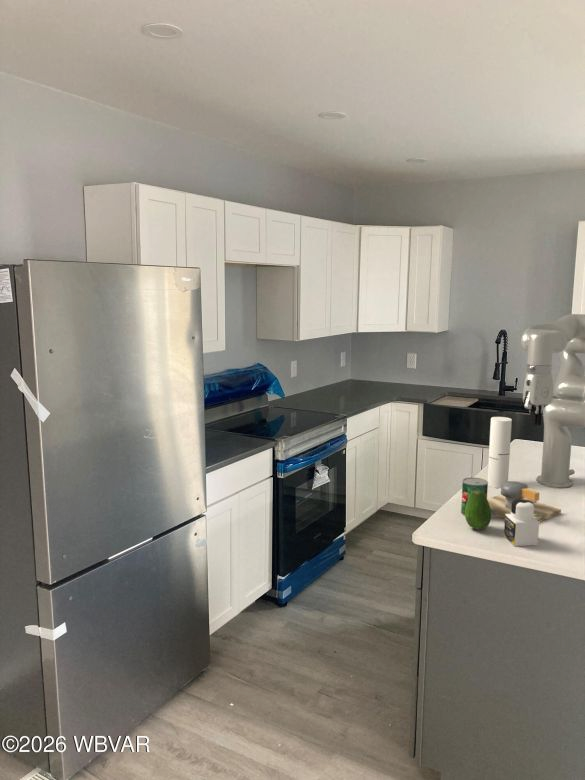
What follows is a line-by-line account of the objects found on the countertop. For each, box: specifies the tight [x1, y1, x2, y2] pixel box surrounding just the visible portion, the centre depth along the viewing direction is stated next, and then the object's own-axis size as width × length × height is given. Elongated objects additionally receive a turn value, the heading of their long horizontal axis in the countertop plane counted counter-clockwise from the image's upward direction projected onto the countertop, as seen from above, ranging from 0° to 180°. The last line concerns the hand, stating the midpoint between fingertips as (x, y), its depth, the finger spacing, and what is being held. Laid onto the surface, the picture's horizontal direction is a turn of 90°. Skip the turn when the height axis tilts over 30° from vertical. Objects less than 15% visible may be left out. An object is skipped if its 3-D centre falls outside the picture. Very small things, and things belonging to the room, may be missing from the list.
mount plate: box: [487, 494, 562, 523], centre depth 205 cm, size 18×20×6 cm
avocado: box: [464, 490, 493, 530], centre depth 189 cm, size 8×8×12 cm
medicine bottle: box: [503, 499, 540, 547], centre depth 180 cm, size 7×7×12 cm
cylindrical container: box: [487, 416, 513, 489], centre depth 229 cm, size 7×7×25 cm
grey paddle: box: [500, 480, 540, 502], centre depth 201 cm, size 13×8×3 cm, turn 29°
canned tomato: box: [460, 477, 489, 517], centre depth 202 cm, size 8×8×11 cm
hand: (535, 424), depth 208 cm, fingers closed
